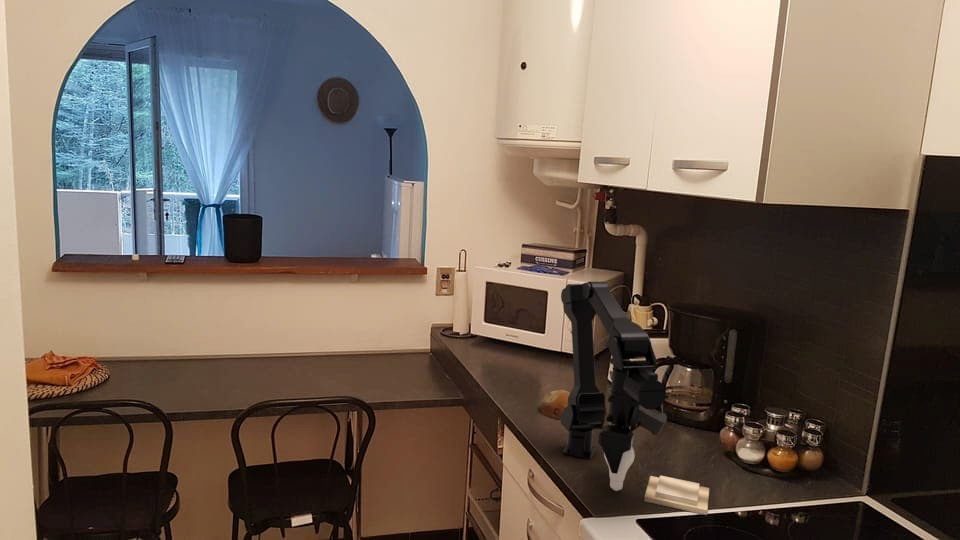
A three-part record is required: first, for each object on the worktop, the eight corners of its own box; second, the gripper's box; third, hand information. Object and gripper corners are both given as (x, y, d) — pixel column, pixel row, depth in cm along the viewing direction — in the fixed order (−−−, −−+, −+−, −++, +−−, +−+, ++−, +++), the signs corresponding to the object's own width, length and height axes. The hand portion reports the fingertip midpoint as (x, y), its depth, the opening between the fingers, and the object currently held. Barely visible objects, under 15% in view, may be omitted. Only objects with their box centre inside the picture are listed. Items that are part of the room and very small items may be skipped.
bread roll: (570, 420, 186) (567, 390, 188) (587, 417, 176) (583, 387, 178) (537, 422, 183) (534, 392, 185) (552, 420, 173) (549, 389, 175)
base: (650, 480, 145) (650, 471, 144) (708, 492, 141) (709, 483, 140) (644, 501, 135) (645, 491, 135) (706, 515, 131) (707, 505, 131)
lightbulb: (626, 483, 142) (631, 434, 141) (634, 498, 136) (639, 447, 135) (598, 482, 142) (602, 433, 140) (604, 497, 136) (609, 445, 134)
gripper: (661, 413, 124) (653, 492, 127) (670, 384, 142) (663, 454, 144) (601, 403, 128) (594, 479, 131) (617, 375, 145) (611, 443, 148)
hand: (618, 463), depth 138 cm, fingers open, 9 cm apart
